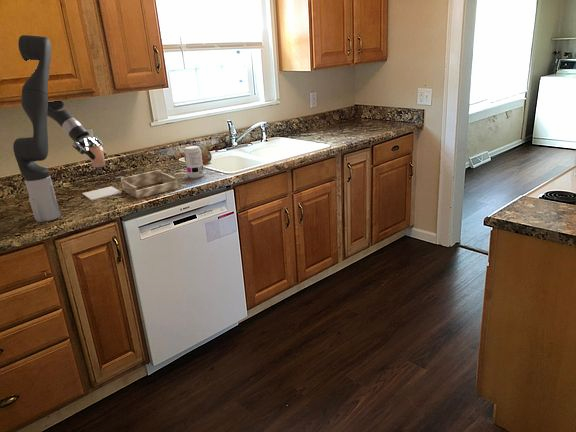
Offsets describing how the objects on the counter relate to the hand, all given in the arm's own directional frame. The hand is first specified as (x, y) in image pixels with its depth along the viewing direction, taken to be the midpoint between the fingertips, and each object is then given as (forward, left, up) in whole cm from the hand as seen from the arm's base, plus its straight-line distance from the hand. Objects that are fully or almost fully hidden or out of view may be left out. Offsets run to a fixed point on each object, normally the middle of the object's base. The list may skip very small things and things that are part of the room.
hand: (99, 156), depth 206 cm
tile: (-2, +2, -18) cm, 18 cm away
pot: (-1, +2, -4) cm, 5 cm away
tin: (+56, +14, -18) cm, 61 cm away
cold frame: (+17, -10, -18) cm, 27 cm away
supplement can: (+43, -7, -18) cm, 47 cm away
